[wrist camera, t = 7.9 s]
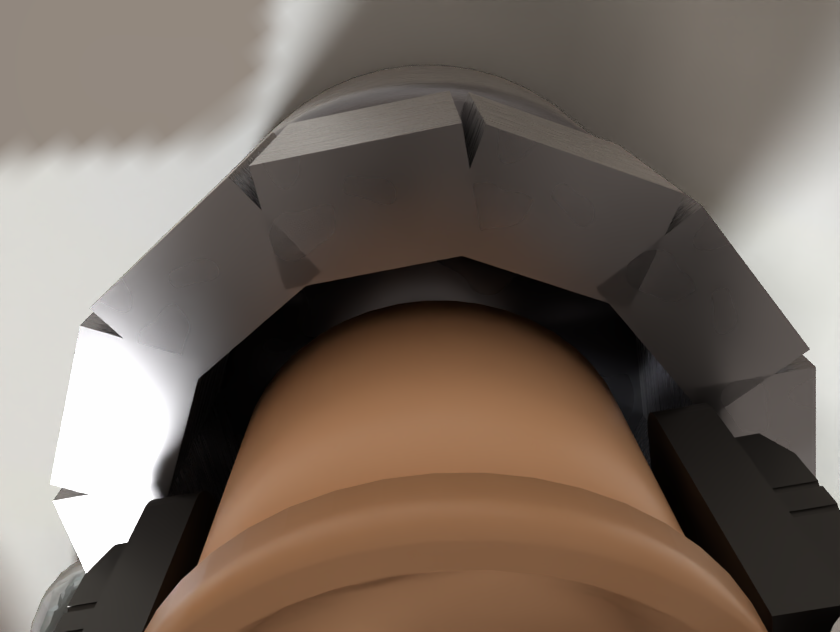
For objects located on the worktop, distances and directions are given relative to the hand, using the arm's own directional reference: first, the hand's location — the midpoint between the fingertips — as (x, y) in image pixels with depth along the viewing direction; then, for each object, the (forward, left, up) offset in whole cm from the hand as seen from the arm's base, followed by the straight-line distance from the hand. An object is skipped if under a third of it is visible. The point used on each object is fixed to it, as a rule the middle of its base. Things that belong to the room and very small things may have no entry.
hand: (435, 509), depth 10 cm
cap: (0, 0, -1) cm, 1 cm away
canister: (0, 0, -9) cm, 9 cm away
